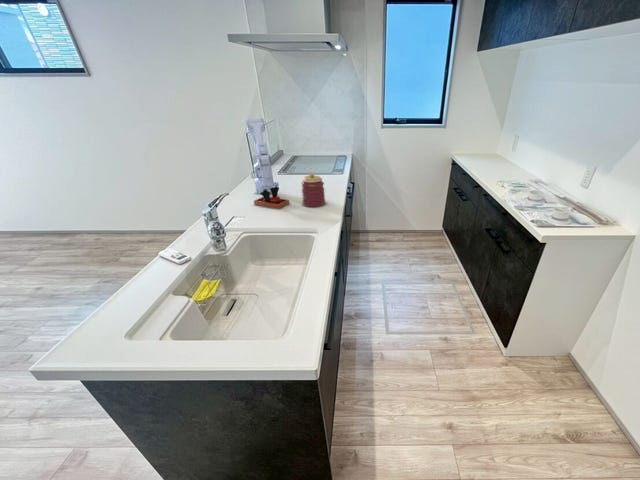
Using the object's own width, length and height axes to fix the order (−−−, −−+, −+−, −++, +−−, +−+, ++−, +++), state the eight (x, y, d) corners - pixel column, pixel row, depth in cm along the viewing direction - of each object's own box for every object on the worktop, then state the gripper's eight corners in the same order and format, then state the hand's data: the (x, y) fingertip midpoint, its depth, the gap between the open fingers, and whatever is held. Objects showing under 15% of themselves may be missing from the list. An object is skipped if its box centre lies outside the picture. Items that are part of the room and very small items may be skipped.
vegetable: (283, 196, 182) (264, 197, 184) (279, 195, 177) (259, 197, 179) (284, 204, 183) (265, 205, 185) (280, 203, 178) (260, 205, 180)
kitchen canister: (298, 205, 180) (295, 174, 171) (310, 199, 190) (307, 169, 181) (318, 208, 176) (316, 176, 167) (329, 201, 187) (327, 171, 177)
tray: (254, 204, 182) (253, 200, 180) (265, 199, 189) (264, 196, 188) (279, 209, 176) (278, 204, 174) (289, 203, 183) (288, 199, 182)
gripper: (264, 181, 167) (268, 206, 174) (281, 175, 178) (284, 198, 186) (254, 180, 170) (258, 204, 177) (271, 174, 181) (275, 197, 188)
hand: (271, 201), depth 181 cm, fingers open, 6 cm apart
